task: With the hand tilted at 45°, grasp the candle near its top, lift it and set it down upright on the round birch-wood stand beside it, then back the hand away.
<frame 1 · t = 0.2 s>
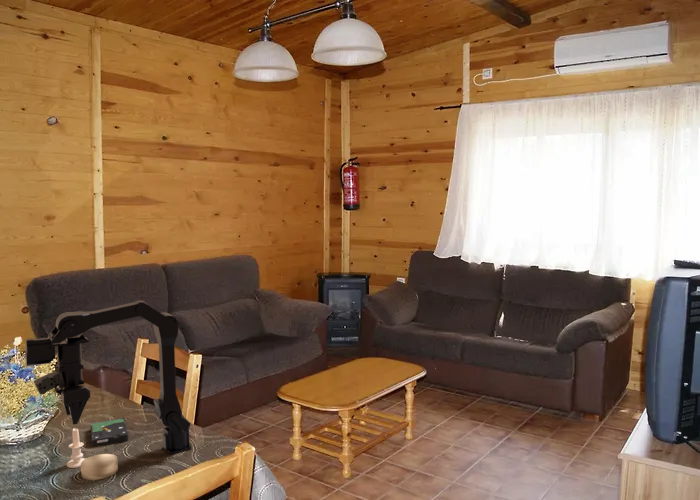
hand: (72, 419, 161), 15 cm above the table, tool pointing down, fingers open, 9 cm apart
stand: (99, 471, 162), on the table
candle: (77, 464, 168), on the table
disk drive: (109, 437, 188), on the table
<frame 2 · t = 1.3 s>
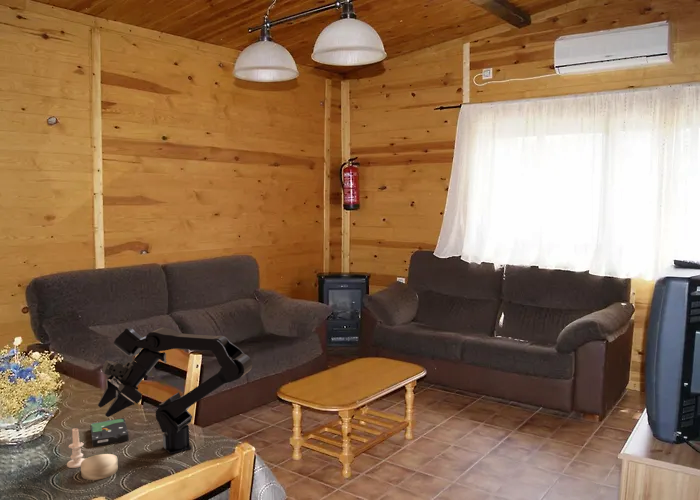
hand: (102, 411, 170), 13 cm above the table, tool tilted 45°, fingers open, 9 cm apart
nothing on the table moved.
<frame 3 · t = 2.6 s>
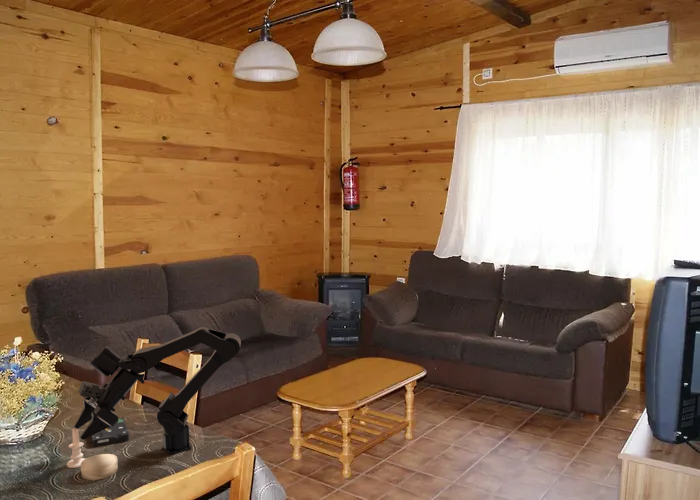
hand: (78, 433, 167), 8 cm above the table, tool tilted 45°, fingers open, 9 cm apart
nothing on the table moved.
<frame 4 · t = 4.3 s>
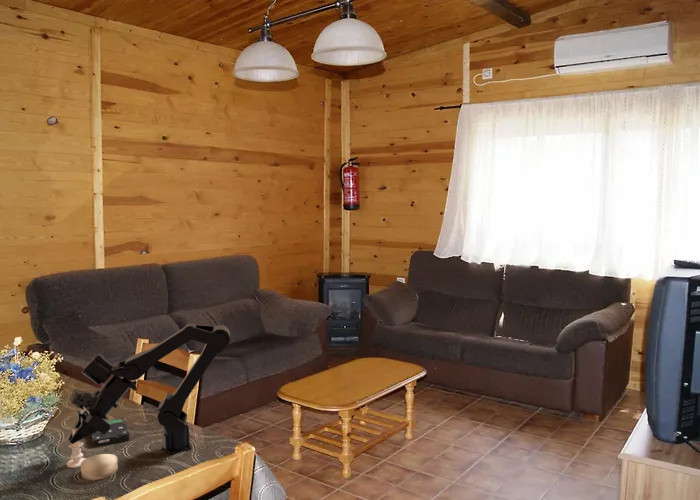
hand: (70, 441, 166), 7 cm above the table, tool tilted 45°, fingers closed on candle
candle: (77, 464, 168), on the table, touching gripper
everything else where it was.
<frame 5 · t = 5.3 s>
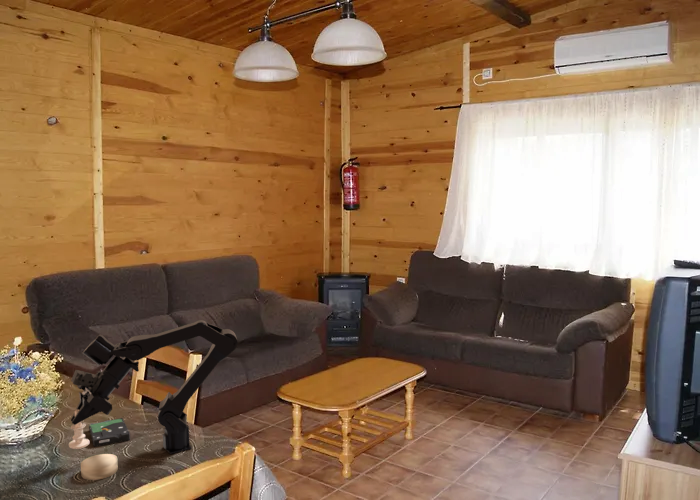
hand: (72, 422, 165), 12 cm above the table, tool tilted 45°, fingers closed on candle
candle: (79, 445, 167), point 5 cm above the table, touching gripper
everything else where it was.
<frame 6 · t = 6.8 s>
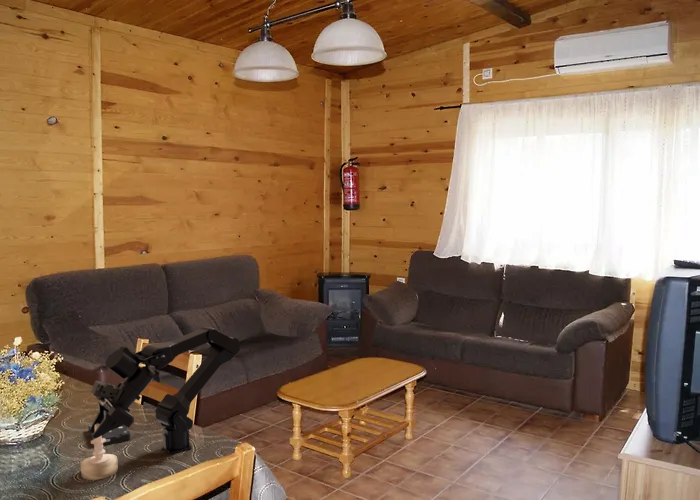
hand: (92, 435, 161), 11 cm above the table, tool tilted 45°, fingers open, 4 cm apart
candle: (99, 461, 163), point 3 cm above the table, touching stand
everything else where it was.
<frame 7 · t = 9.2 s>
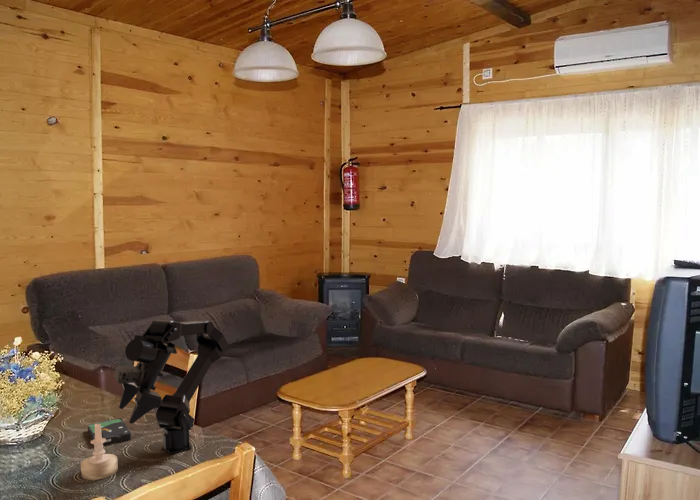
hand: (125, 415, 167), 13 cm above the table, tool tilted 30°, fingers open, 9 cm apart
nothing on the table moved.
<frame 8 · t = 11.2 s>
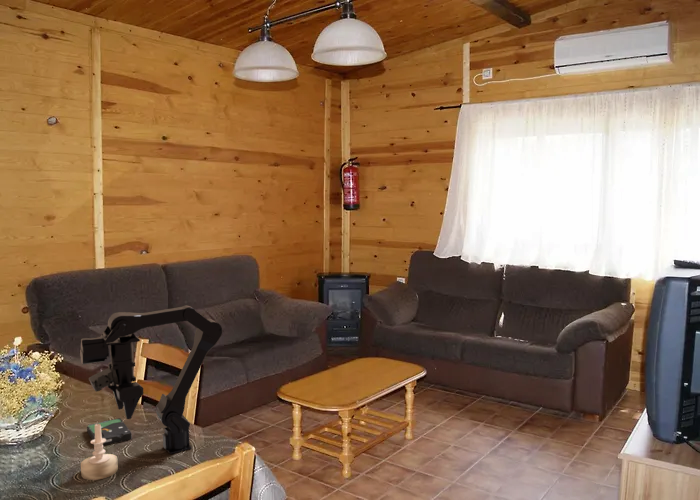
hand: (124, 413, 169), 13 cm above the table, tool pointing down, fingers open, 9 cm apart
nothing on the table moved.
at the end: candle 0.4 cm off-centre on the stand, point 2.8 cm above the stand's base; candle tilted 0°; the gripper is holding nothing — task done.
